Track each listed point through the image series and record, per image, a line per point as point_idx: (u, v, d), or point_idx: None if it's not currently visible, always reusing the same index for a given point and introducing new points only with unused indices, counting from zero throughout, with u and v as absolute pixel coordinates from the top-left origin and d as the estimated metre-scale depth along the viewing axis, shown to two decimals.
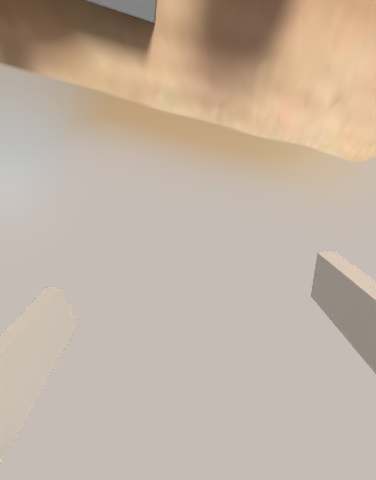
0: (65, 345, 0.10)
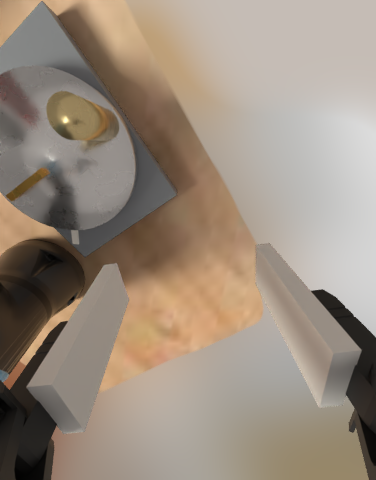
0: (122, 315, 0.12)
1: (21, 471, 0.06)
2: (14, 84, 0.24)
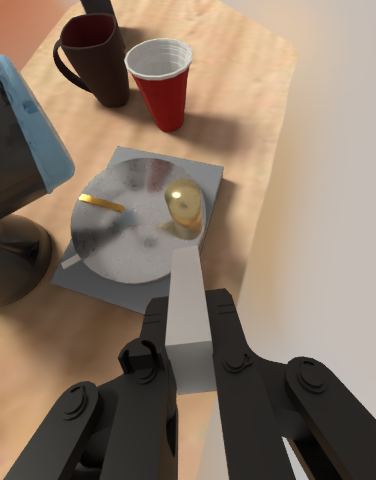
0: None
1: None
2: (169, 169, 0.32)
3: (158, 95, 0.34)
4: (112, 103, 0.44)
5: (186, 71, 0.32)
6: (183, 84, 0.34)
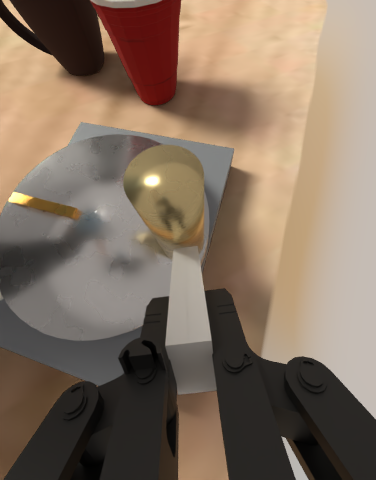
0: None
1: None
2: None
3: (135, 41, 0.22)
4: (80, 69, 0.33)
5: None
6: (173, 24, 0.23)
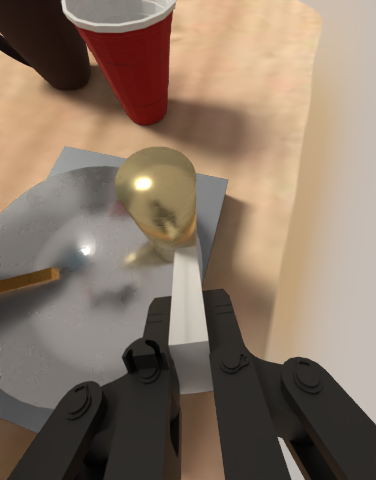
0: None
1: None
2: (94, 177, 0.20)
3: (122, 64, 0.21)
4: (64, 83, 0.31)
5: (167, 22, 0.19)
6: (163, 47, 0.21)
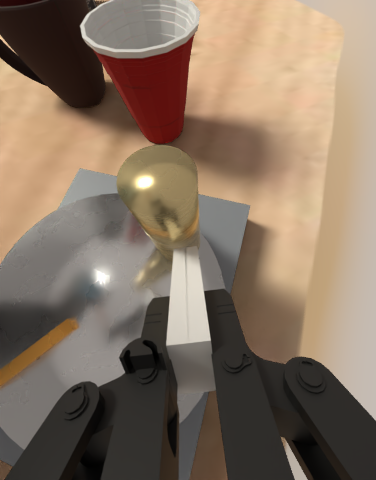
0: None
1: None
2: (72, 214, 0.19)
3: (141, 87, 0.20)
4: (79, 102, 0.30)
5: (188, 45, 0.19)
6: (183, 69, 0.20)
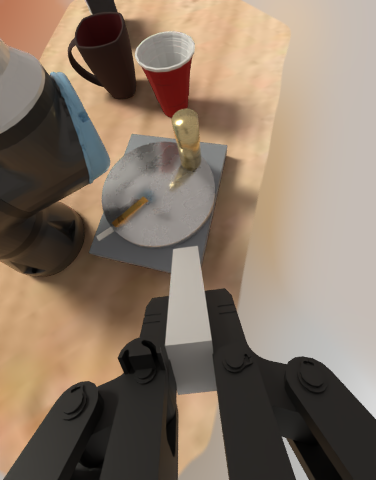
0: None
1: None
2: (136, 154, 0.38)
3: (166, 85, 0.38)
4: (122, 95, 0.49)
5: (190, 61, 0.37)
6: (187, 73, 0.38)
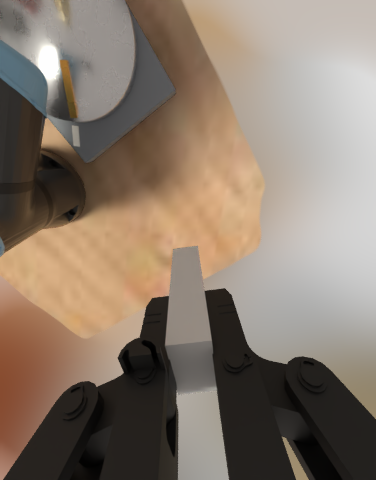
0: None
1: None
2: None
3: None
4: None
5: None
6: None
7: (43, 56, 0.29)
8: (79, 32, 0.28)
